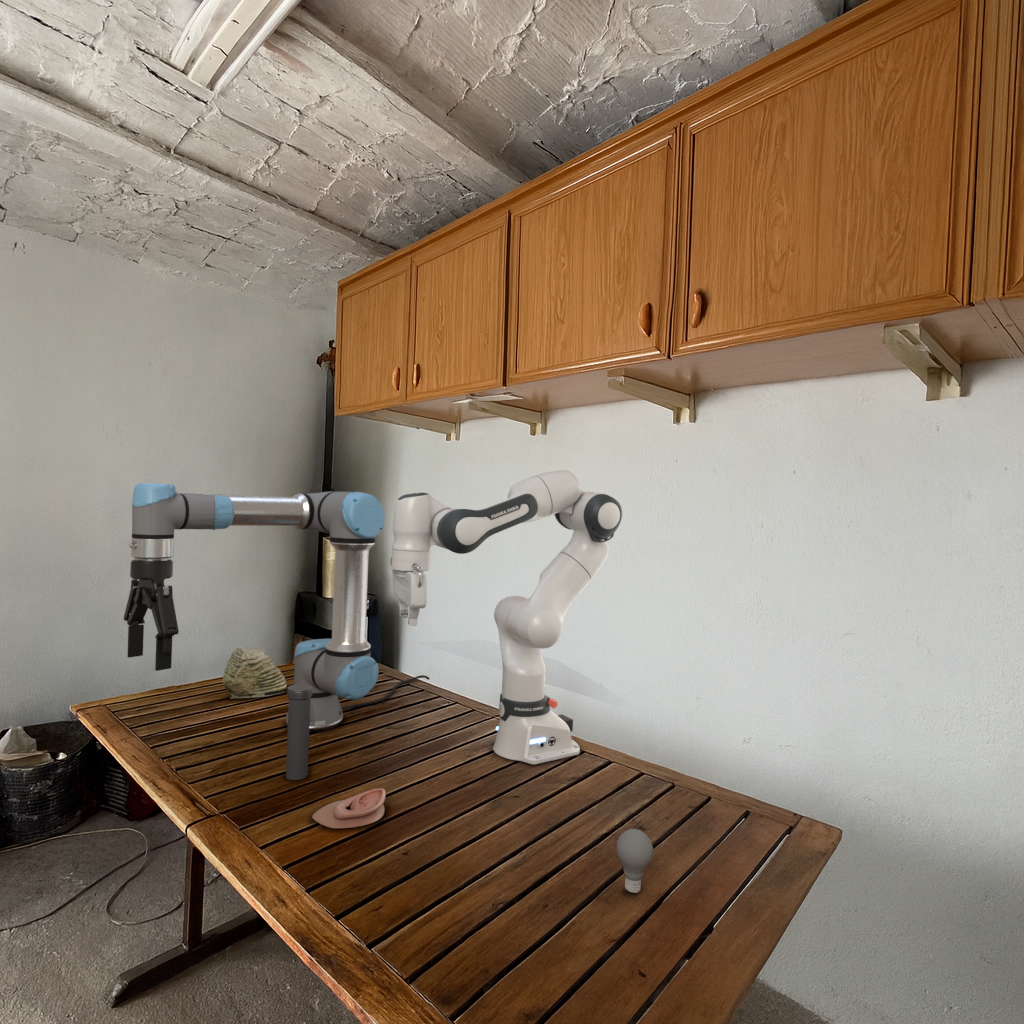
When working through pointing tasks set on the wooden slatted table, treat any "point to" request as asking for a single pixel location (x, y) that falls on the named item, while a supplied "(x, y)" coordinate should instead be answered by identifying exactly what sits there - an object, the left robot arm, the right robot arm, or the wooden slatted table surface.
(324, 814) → the anatomical model
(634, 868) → the light bulb
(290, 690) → the lid
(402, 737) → the wooden slatted table surface
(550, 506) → the right robot arm
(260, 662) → the fossil
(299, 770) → the dark grey cylinder
